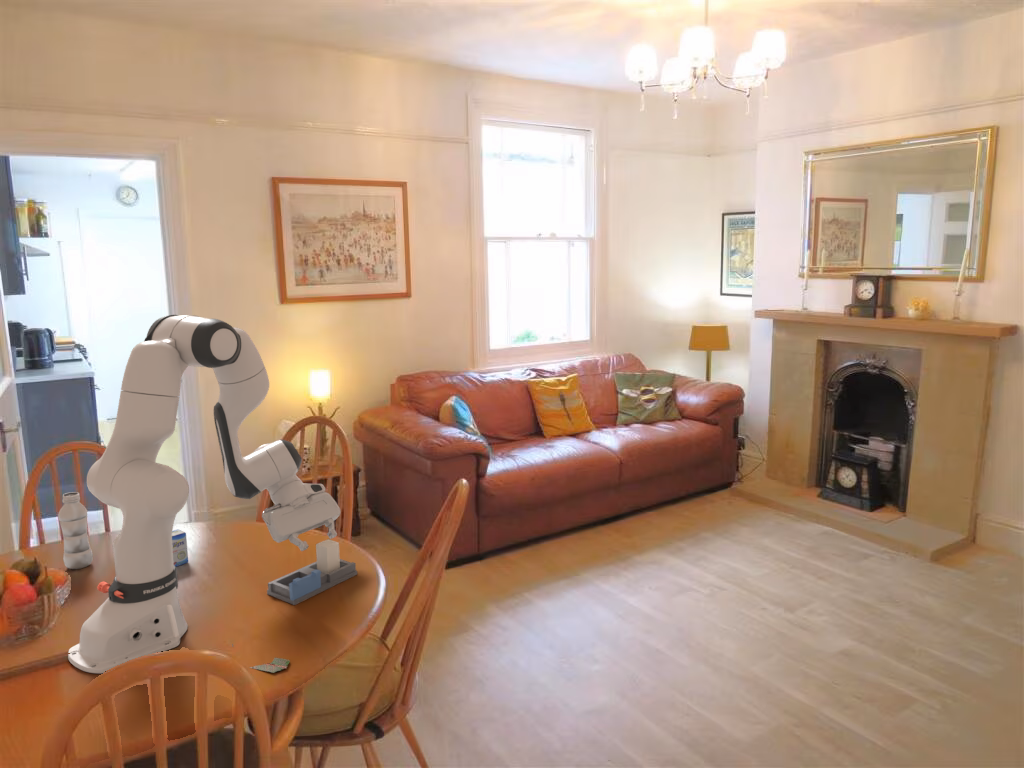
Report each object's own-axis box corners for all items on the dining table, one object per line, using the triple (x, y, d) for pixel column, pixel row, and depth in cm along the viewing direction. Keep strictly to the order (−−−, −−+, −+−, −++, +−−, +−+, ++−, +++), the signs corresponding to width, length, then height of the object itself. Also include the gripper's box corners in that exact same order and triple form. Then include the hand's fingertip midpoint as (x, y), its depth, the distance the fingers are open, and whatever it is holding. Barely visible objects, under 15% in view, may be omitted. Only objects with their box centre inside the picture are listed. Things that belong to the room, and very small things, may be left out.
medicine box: (159, 573, 184) (156, 541, 182) (151, 568, 186) (148, 537, 185) (189, 562, 190) (186, 532, 188) (180, 558, 192) (177, 528, 191)
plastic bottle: (84, 572, 184) (76, 498, 180) (58, 572, 184) (49, 498, 180) (99, 561, 190) (91, 490, 187) (74, 561, 190) (66, 490, 187)
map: (278, 678, 138) (278, 673, 138) (201, 654, 147) (201, 649, 146) (296, 664, 143) (296, 660, 142) (220, 642, 151) (220, 638, 151)
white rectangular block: (328, 577, 179) (326, 547, 177) (317, 573, 181) (315, 544, 179) (340, 572, 182) (338, 542, 180) (329, 568, 184) (328, 539, 183)
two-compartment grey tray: (296, 605, 166) (294, 582, 165) (267, 594, 172) (265, 571, 171) (358, 574, 182) (358, 553, 181) (330, 565, 188) (329, 544, 187)
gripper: (263, 504, 175) (292, 550, 172) (327, 482, 192) (354, 524, 188) (253, 517, 179) (281, 563, 175) (317, 495, 195) (343, 536, 192)
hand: (319, 542), depth 182 cm, fingers open, 8 cm apart
